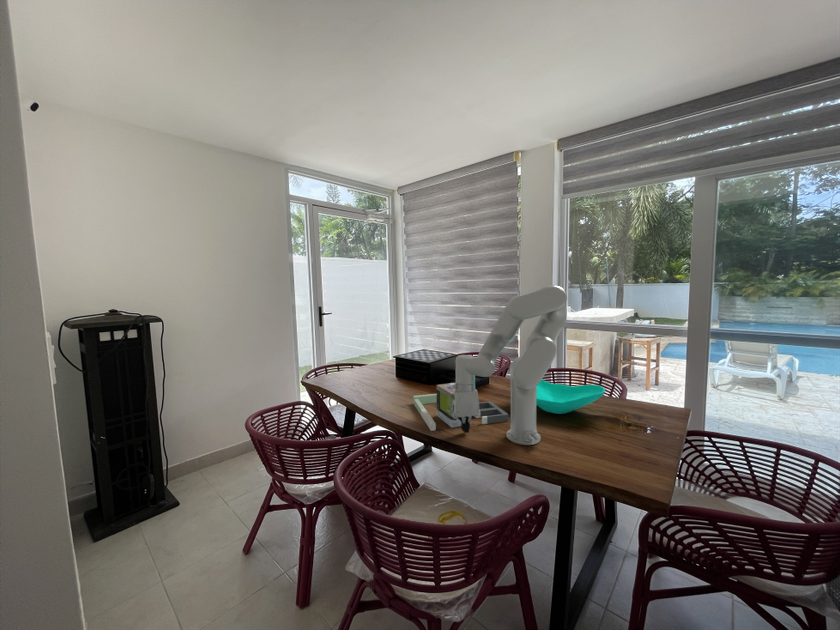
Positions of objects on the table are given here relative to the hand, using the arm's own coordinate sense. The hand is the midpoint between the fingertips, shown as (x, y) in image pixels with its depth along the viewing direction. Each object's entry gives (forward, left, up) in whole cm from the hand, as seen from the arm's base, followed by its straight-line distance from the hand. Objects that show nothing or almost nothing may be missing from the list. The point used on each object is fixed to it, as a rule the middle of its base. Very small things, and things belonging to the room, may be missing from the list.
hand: (465, 431), depth 133 cm
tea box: (+15, 0, -1) cm, 15 cm away
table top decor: (+11, -49, -1) cm, 50 cm away
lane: (+23, 0, -1) cm, 23 cm away
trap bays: (+15, -18, -1) cm, 23 cm away
